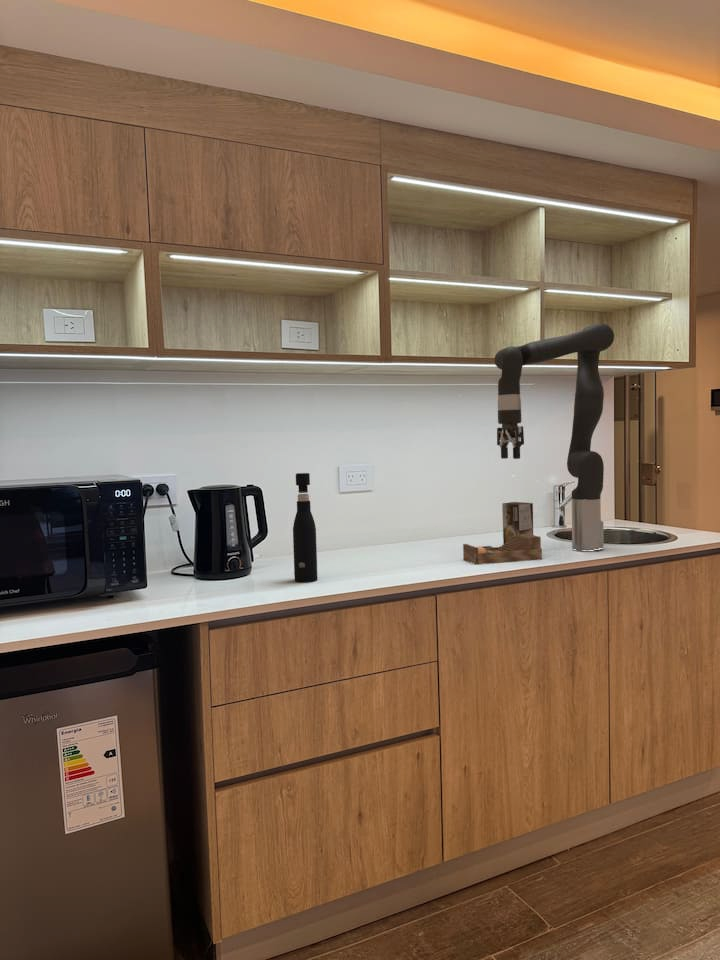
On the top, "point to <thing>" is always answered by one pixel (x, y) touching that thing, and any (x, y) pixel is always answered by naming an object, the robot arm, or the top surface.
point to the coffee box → (517, 519)
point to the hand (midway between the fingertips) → (510, 458)
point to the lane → (507, 551)
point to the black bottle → (304, 535)
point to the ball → (481, 550)
